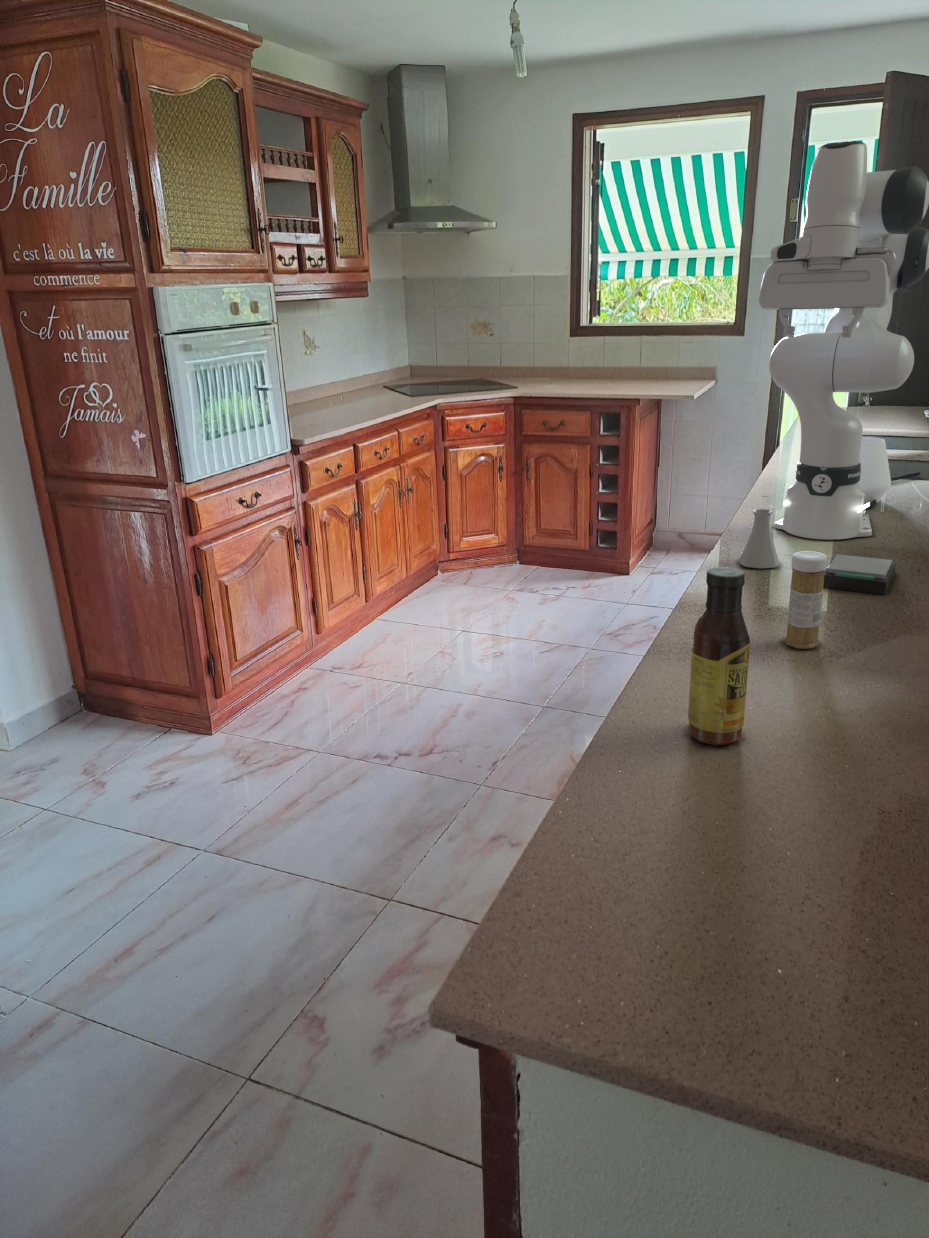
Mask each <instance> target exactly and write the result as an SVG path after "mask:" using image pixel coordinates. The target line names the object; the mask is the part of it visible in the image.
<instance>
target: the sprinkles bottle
mask: <svg viewBox="0 0 929 1238" xmlns="http://www.w3.org/2000/svg"><path fill="white" fill-rule="evenodd" d="M790 566H791V581H790V588H789V589H790V591H789V600H788V606H787V608H788V609H787V619H786V622H787V623H786V625H787V626H786V635H785V639H784V641H785V644H786V645H788V646H790V647H791V648H794V649H800V650H810V649H811V650H812V649H814V648H816V647H817V646H818V645H819V640H818V639H819V631H820V625H821V619H822V618H821V617H822V609H823V598H824V587H823V584H824V573H825V571H826V568H827V567H828V556H827V554H825V553H822V552H819V551H812V550H802V551H797V552H794V553H793V554H792V556H791V564H790Z"/></svg>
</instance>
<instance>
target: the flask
mask: <svg viewBox="0 0 929 1238" xmlns="http://www.w3.org/2000/svg"><path fill="white" fill-rule="evenodd" d="M772 513H773V511H772V510H770V509H765V508H758V509H754V510H753V512H752V514H753V515H754V520H753V525H752V526H753V527H752V528H751V532H750V534H749V537H748V538H747V539H748V540H747V541H746V544H745V546H744V549H743V551H742V553H741V555H740V557H739V559H738V563H739V564H740V565H741V566H743V567H744V568H745V567H746V568H754V569H771V568H777V567H778V565H779V564H780V561H779V556H778V554H777V551H776V546H775V544H774V540H773V536H772V533H771V524H770V520H771V515H772Z"/></svg>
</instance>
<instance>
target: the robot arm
mask: <svg viewBox="0 0 929 1238" xmlns="http://www.w3.org/2000/svg"><path fill="white" fill-rule="evenodd" d="M804 201H805V202H804V207H803V219H804V221H805V222H804V223H803V227H802V232H801V237H798V238H796V239H793V240H790V241H788V242H785V243H782V244H778V245H777V246H775V247H772V249H771V250H770V255H769V257H770V260H771V261H772V263H770V264H769V265H768V266H767V267H766V269H765V271H764V272H763V276H762V281H761V285H760V289H759V296H758V304H759V306H760V307H761V309H763V310H767V311H776V310H777V311H778V317H779V320H780V322H781V324H782V326H783V332H782V337H783V338H781V339H780V340H779V341H778V343H776V345H774V347H773V349H772V352H771V354H770V357H769V360H768V361H769V362H768V367H769V368H768V369H769V374H770V377H771V379H772V381H773V382H774V384H775V385H776V386H777V387H778V388H780V389H781V390H782V391H783V392H784V393H785V394H786V395H787V396H788V397H789V398H790V400H791V401H792V403H793V405H794V407H795V409H796V411H797V414H798V417H799V422H800V423H799V424H800V453H799V460H798V461H797V463H796V468H795V480H796V481H795V483H794V484H792V485H791V486H789V488H787V490H786V496H785V500H784V501H783V506H784V511H783V518H781V519H779V520H777V521H775V522H774V528H775V529H778V530H783V531H785V532H786V533H788V534H790V535H792V536H796V537H800V538H804V539H812V540H829V541H830V540H831V541H833V540H846V539H847V540H848V539H852V538H864V537H871V536H873V529H872V525H871V521H870V520H871V519H870V516H869V515H868V514H867V511H869V510H870V509H871V508H873V507H875V506H876V505H877V503H878V502H877V501H876V500H873V501H872V503H867V504H864V497H865V494H863V491H862V490H861V489H860V486H859V483H858V482H859V481H860V474H861V464H860V463H859V458H860V449H861V440H862V437H863V433H864V432H863V431H864V429H863V425H862V422H861V421H860V419H859V418H858V417H857V416H856V415H854V414H853V413H852V412H850V411H848V410H846V409H844V408H842V407H840V406H839V405H838V404H837V403H836V401H835V399H834V393H866V394H867V393H869V394H871V393H878V392H879V393H880V392H885V391H891V390H896V389H898V388H900V387H902V386H903V384H904V383H905V382H906V381H907V380H908V379H909V377H910V376H911V373H912V372H913V369H914V365H915V353H914V349H913V347H912V344H911V342H910V341H909V340H908V339H907V337H906V336H905V335H900V334H897V333H894V332H891V331H889V330H888V326H889V324H890V320H891V317H892V311H893V299H894V294H895V293H896V291H899V290H900V289H901V290H902V293H905V292H907V291H908V290H909V287H911V286H912V285H914V284H916V283H918V282H919V281H920V280H921V279H922V278H923V277H925V275H926V274H927V273H928V270H929V229H928V228H926V227H922V226H921V227H920V225H921V224H922V222H923V220H924V218H925V216H926V214H927V211H928V208H929V178H928V176H927V175H926V174H925V172H924V171H923V170H922V169H920V168H919V167H918V166H910V167H904V168H903V167H902V168H898V169H893V170H892V169H890V170H880V171H868V146H867V144H866V143H865V142H863V141H860V140H850V141H840V142H830V143H826V144H823V145H821V146H820V147H818V148H817V149H816V152H815V155H814V158H813V162H812V165H811V170H810V175H809V179H808V184H807V190H806V193H805V200H804ZM792 310H833V311H832V313H831V315H830V317H829V319H828V321H827V323H826V325H825V328H824V332H805V333H800V334H795V331H796V326H793V325H791V324H790V322H789V320H788V318H787V317H790V316H791V311H792ZM920 475H921V472H920V471H916V472H911V473H905V474H901V475H897V476H892V477H890V478H891V482H894V481H899V480H902V479H903V480H904V479H908V478H912V477H917V476H920Z"/></svg>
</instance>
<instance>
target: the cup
mask: <svg viewBox="0 0 929 1238" xmlns="http://www.w3.org/2000/svg"><path fill="white" fill-rule="evenodd" d="M888 457H889V456H888V451H887V443H886V439H884V438H880V437H876V436H862V440H861V449H860V458H859V463H860V464H861V474H860V481H859V482H858V483H859V486H860V489H861V490H862V491H863V494H865V497H864V505H865V504H867V503H872V501H873V500H876V501H877V503H879V502H880V501H881V500H882V498H883V497H884V496H885V495H886V493H888V491H889V490H890V489H891V486H892V481H891V478H892V477H891V471H890V464H889V458H888Z"/></svg>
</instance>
